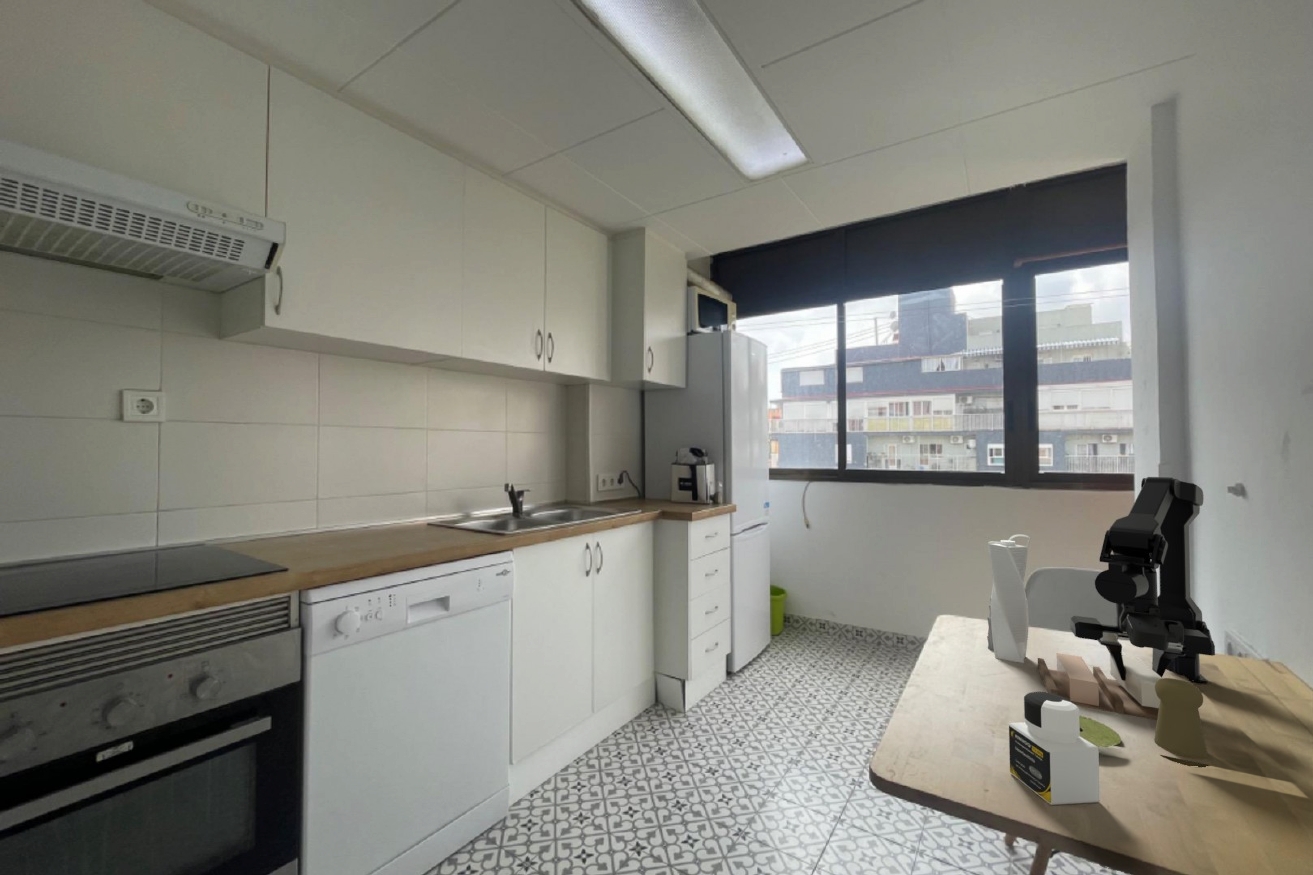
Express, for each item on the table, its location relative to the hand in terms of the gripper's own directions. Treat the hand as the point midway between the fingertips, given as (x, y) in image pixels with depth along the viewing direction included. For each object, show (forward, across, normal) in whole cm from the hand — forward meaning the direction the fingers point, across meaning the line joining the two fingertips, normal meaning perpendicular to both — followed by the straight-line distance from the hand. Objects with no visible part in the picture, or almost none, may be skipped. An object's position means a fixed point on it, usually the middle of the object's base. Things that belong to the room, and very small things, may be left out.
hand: (1138, 682), depth 95 cm
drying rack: (+4, -4, 0) cm, 6 cm away
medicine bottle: (+4, -18, -37) cm, 41 cm away
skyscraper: (+4, -18, +13) cm, 23 cm away
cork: (+4, 0, -18) cm, 19 cm away
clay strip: (+2, 0, 0) cm, 2 cm away
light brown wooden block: (+3, -9, 0) cm, 9 cm away
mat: (+4, -12, -20) cm, 24 cm away
